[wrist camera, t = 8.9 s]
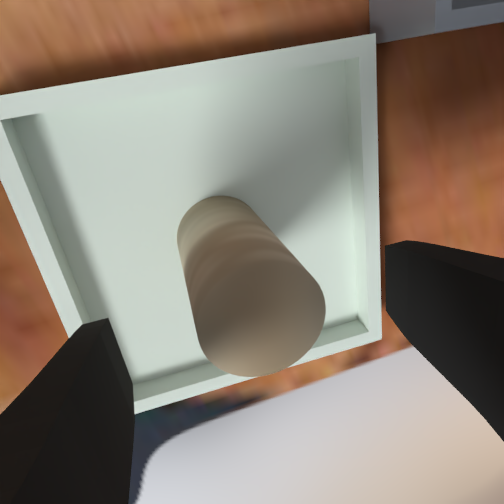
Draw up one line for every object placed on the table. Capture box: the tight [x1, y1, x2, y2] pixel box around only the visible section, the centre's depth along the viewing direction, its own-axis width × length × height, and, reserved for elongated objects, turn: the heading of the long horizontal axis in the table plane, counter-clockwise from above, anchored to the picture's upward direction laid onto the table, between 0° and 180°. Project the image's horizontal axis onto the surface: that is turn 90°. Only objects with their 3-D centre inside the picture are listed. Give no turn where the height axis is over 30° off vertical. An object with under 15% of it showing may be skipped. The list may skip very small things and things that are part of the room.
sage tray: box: [0, 33, 382, 414], centre depth 15 cm, size 12×12×2 cm
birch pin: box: [177, 196, 326, 377], centre depth 12 cm, size 3×3×6 cm
